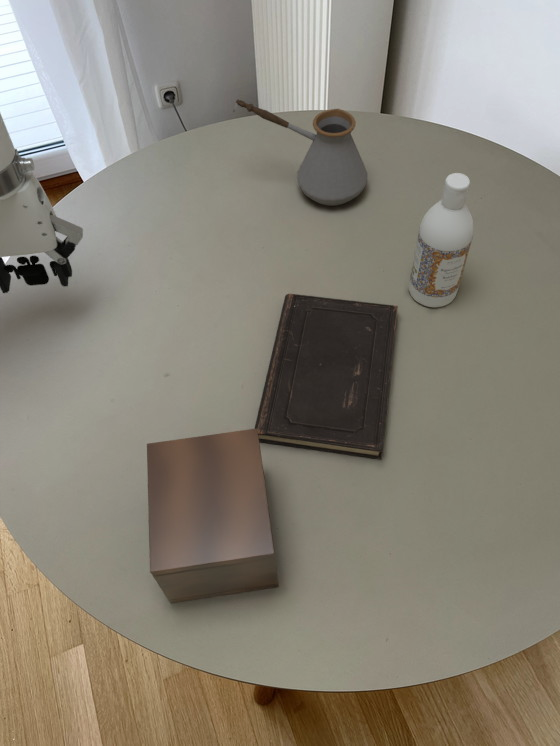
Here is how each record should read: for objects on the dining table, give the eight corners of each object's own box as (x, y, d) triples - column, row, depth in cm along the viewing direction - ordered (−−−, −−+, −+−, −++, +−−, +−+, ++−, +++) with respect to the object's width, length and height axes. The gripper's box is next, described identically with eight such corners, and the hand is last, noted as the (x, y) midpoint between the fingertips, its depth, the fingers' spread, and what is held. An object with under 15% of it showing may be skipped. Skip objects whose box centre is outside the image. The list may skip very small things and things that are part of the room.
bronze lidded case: (170, 603, 71) (149, 572, 62) (165, 486, 79) (146, 443, 70) (278, 587, 72) (274, 553, 62) (263, 472, 79) (257, 428, 70)
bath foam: (419, 314, 92) (443, 205, 76) (400, 279, 96) (420, 168, 80) (464, 302, 93) (497, 192, 77) (444, 269, 97) (472, 157, 81)
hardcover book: (395, 316, 92) (397, 305, 91) (380, 459, 80) (382, 450, 78) (285, 303, 95) (284, 292, 93) (253, 441, 82) (252, 432, 80)
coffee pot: (371, 171, 110) (378, 90, 98) (360, 218, 104) (367, 137, 92) (249, 158, 113) (242, 77, 101) (232, 202, 107) (222, 121, 95)
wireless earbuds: (65, 276, 89) (54, 249, 85) (63, 290, 87) (52, 263, 83) (13, 281, 88) (-1, 254, 84) (10, 295, 87) (-3, 268, 83)
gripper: (67, 144, 76) (102, 255, 90) (-87, 159, 74) (-26, 269, 89) (63, 186, 71) (101, 295, 86) (-100, 201, 70) (-34, 310, 85)
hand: (36, 281), depth 87 cm, fingers closed on wireless earbuds, 7 cm apart
